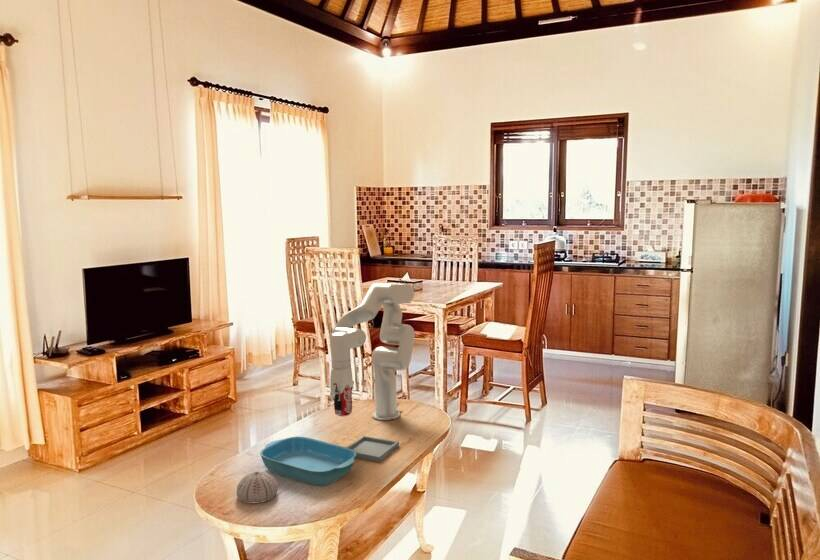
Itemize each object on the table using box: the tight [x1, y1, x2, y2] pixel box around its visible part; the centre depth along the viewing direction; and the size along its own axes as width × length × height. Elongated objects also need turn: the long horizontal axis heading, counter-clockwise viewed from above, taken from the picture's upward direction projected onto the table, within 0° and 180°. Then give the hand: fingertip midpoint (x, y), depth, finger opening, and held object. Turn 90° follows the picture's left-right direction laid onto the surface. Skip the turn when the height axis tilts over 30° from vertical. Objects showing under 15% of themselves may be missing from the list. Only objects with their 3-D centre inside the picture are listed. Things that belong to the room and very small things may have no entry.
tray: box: [345, 435, 400, 463], centre depth 229 cm, size 16×16×2 cm
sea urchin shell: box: [235, 470, 279, 503], centre depth 193 cm, size 13×14×8 cm
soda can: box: [334, 386, 353, 417], centre depth 237 cm, size 7×7×12 cm
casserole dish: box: [259, 436, 357, 487], centre depth 212 cm, size 37×22×7 cm, turn 59°
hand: (343, 406), depth 238 cm, fingers closed on soda can, 6 cm apart
